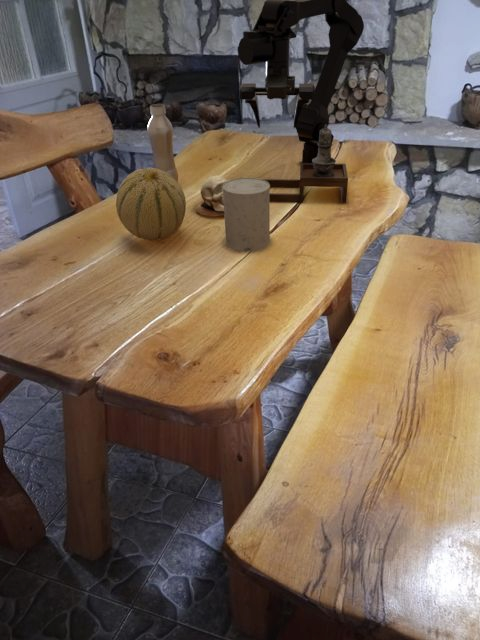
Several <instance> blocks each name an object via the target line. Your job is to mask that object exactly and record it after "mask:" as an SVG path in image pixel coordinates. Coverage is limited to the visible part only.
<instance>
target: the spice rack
mask: <svg viewBox="0 0 480 640" xmlns="http://www.w3.org/2000/svg"><path fill="white" fill-rule="evenodd" d="M316 171H317V170H316V169H315V168H314V166H313V163H300V164H299V179H297V178H296V179H293V178H291V179H287V178H286V179H285V178H279V179H278V178H261V179H262V180H265V181H267V182H268V183H269V184H270V188H271V189H273V188H277V189H279V188H280V189H299V191H298V192H299V193H281V192H280V193H277V192H276V193H275V192H269V203H304V193H305V188H306V187H307V188H309V187H310V188H339V191H340V199H341V203H342V204H347V199H348V184H349V175H348V170H347V165H346V163H335V165H334V167H333V169H332V170H331V171H330V172H332V173H333V174H334V176H333V177H314V176H313V173H314V172H316ZM270 188H269V189H270Z"/></svg>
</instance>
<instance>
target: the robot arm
mask: <svg viewBox="0 0 480 640" xmlns="http://www.w3.org/2000/svg"><path fill="white" fill-rule="evenodd" d="M321 15H322V16H323V15H324V20H325V22H326V25H328V27H329V30H328V33H327V35H328V43H329V48H328V51H327V54H326V58H325V60H324V63H323V66H322V68H321V71H320V74H319V77H318V80H317V83H316V85H314V84H313V83H298V86H297V87H296V76H295V75H290V45H291V44H290V43H291V42H290V41H291V39H296V38H297V34H296V33H295V32H294V31H293V30H292V28H293V27H294V26H296V25H298V23H300V21H301V20H304V19H308V18H312V17H318V16H321ZM364 29H365V23H364V19H363V17H362V15H361V14H359V12H358V11H357V9H356V8H355V7H353V5H351V4H350V3H349V2H347V1H346V0H265V1H264V3H263V6H262V8H261V12H260V13H259V16H258V18H257V20H256V22H255V24H254V26H253V29H252V31H250V30H244V31H243V32H242V38H241V39H240V40H239V43H238V46H237V56H238V58H239V60H240V62H241V63H242V64H243V65H244V66H249V65H256V64H261V63H262V64H263V63H265V80H264V86H263V87H262V86H260V87H259V86H257V83H250V82H249V83H241V85H240V86H239V93H238V94H239V100H243V101H244V103H245V104H248V105H249V106H250V108H251V110H252V112H253V115H254V118H255V122H256V125H257V128H258V129H260V128H261V115H260V109H259V98H258V96H266V98H267V99H268V100H275V99H276V100H286V99H287V98H288V96H296V101H295V109H294V110H295V111H294V115H293V117H294V118H293V129H296V133H297V137H298V141H299V142H303V148H302V153H301V154H302V157H301V158H302V159H301V161H299V163H298V164H299V165H300V163H313V162H312V160H313V159H314V158H316V157H317V156H318V147H319V146H318V145H317V144H318V143H319V133H320V130H321V129H324V128H325V125H327V128H328V127H329V122H330V116H329V115H330V114H329V106H330V103H331V101H332V98H333V95H334V92H335V89H336V86H337V84H338V81H339V79H340V75H341V73H342V70H343V67H344V64H345V63H346V58H347V56H348V54H349V53H350V52H351V51H352V50H353V49H354V48H355V47H356V46H357V44H358V43H359V40H360V38H361V36H362V34H363V33H364ZM305 104H307V105H306V106H305ZM334 138H335V136H334V135H333V134H332V135H331V143H332V144H333V142H334Z"/></svg>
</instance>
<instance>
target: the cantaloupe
mask: <svg viewBox="0 0 480 640" xmlns="http://www.w3.org/2000/svg"><path fill="white" fill-rule="evenodd" d="M186 201H187V200H186V195H185V193H184V191H183V189H182V186H181V185H180V184H179V183H178V182H177V181H176V180H175V179H174V178H173V177H172V176H171V175H170V174H168V173H166V172H165V171H162V170H159V169H156V168H154V167H146V168H139V169H136V170H134V171H132V172H131V173H130V174H128V175H127V176H126V177H125V178H124V179H123V180H122V182H121V183H120V185H119V187H118V190H117V193H116V200H115V208H116V214H117V216H118V219H119V221H120V222H121V224H122V225H123V227H124V228H125V229H126V231H128V232H129V233H130V234H132V236H134V237H136V238H138V239H140V240H144V241H154V242H155V241H162V240H165V239H167V238H169V237H171V236H172V235H174V234H175V233H176V232H177V231H178V230H179V228H180V227H181V226H182V224H183V222H184V219H185V216H186V209H187V202H186Z"/></svg>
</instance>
